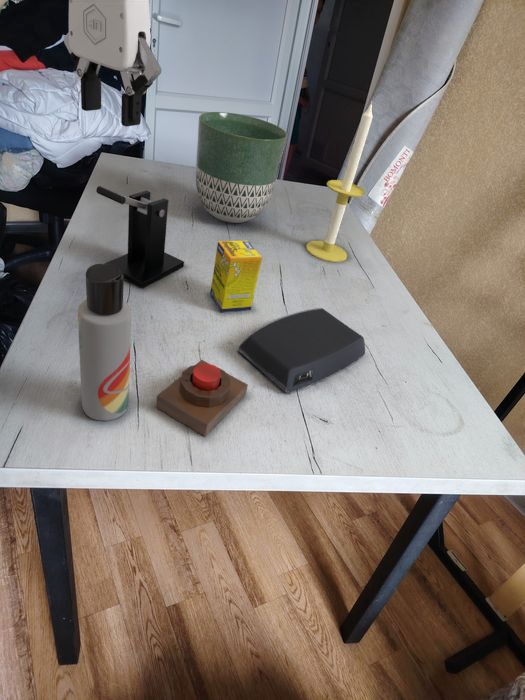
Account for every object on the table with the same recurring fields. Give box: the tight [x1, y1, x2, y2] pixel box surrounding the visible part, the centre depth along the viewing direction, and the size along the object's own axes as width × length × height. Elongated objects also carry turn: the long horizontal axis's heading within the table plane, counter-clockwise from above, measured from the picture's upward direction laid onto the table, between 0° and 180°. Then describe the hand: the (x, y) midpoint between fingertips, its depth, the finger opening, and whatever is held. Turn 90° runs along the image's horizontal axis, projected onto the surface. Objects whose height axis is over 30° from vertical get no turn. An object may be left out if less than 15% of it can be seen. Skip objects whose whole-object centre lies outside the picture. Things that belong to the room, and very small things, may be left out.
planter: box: [195, 111, 288, 224], centre depth 110 cm, size 20×20×21 cm
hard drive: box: [236, 307, 366, 393], centre depth 78 cm, size 13×19×4 cm
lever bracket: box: [104, 189, 185, 290], centre depth 86 cm, size 12×9×14 cm
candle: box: [305, 101, 374, 263], centre depth 103 cm, size 10×10×32 cm
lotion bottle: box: [77, 263, 132, 422], centre depth 56 cm, size 6×6×20 cm
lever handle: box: [95, 185, 154, 215], centre depth 79 cm, size 12×5×2 cm, turn 150°
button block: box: [155, 359, 249, 437], centre depth 65 cm, size 10×8×4 cm
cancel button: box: [192, 363, 221, 391], centre depth 63 cm, size 4×4×2 cm
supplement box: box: [209, 239, 263, 313], centre depth 84 cm, size 6×6×11 cm
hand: (111, 116), depth 67 cm, fingers open, 6 cm apart
